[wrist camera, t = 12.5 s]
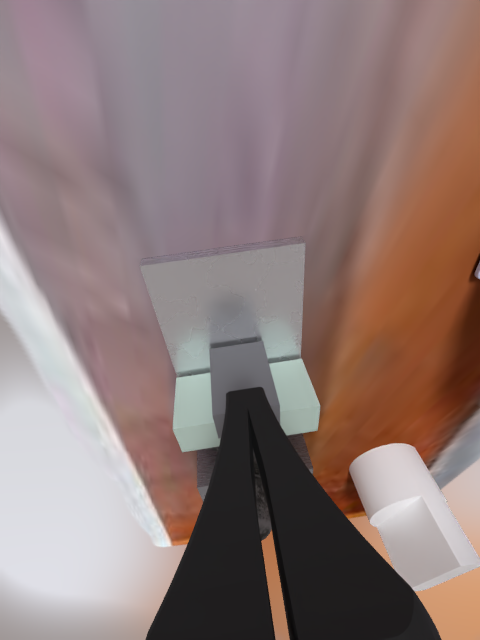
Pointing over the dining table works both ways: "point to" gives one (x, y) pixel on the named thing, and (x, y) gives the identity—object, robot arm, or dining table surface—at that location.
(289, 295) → the plate
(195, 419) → the vise jaw
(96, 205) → the dining table surface
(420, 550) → the cylinder with rectangular tab
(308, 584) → the robot arm
